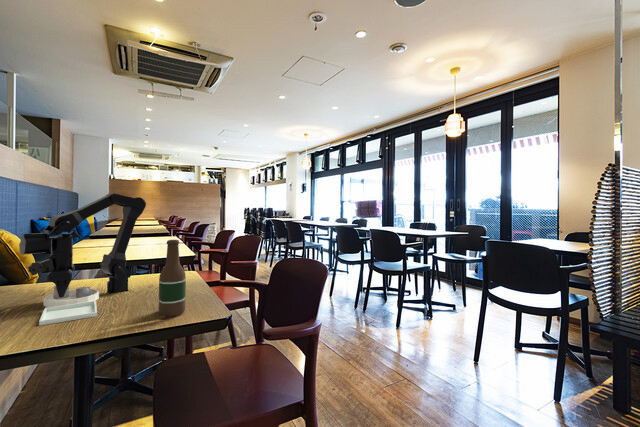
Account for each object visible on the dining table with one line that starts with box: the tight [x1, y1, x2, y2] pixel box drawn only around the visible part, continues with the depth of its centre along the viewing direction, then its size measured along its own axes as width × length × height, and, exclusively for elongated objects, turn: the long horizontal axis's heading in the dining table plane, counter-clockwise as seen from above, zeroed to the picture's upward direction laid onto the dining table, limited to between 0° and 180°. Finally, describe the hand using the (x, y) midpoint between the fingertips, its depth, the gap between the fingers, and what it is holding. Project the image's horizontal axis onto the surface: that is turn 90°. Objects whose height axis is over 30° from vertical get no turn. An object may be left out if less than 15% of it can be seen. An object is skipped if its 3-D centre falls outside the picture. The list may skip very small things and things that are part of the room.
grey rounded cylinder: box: [75, 286, 91, 299], centre depth 108 cm, size 4×4×4 cm
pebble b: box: [53, 285, 70, 299], centre depth 104 cm, size 4×4×4 cm
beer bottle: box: [158, 239, 187, 318], centre depth 97 cm, size 8×8×24 cm
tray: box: [38, 300, 98, 327], centre depth 93 cm, size 13×14×2 cm
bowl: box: [43, 288, 100, 308], centre depth 106 cm, size 15×15×3 cm
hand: (61, 295), depth 104 cm, fingers closed on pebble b, 4 cm apart
